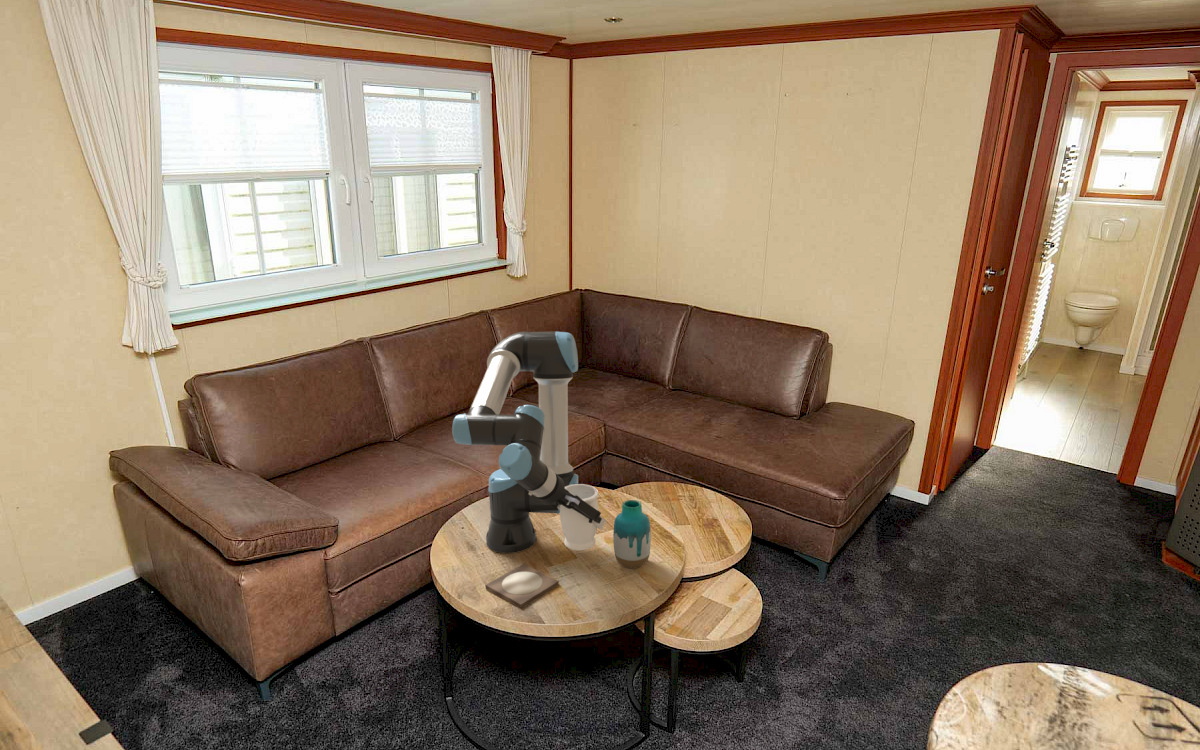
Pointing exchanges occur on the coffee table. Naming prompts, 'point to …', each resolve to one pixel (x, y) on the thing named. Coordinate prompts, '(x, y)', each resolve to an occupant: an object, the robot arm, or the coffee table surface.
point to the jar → (579, 519)
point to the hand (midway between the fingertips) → (587, 518)
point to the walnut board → (522, 585)
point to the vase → (632, 535)
